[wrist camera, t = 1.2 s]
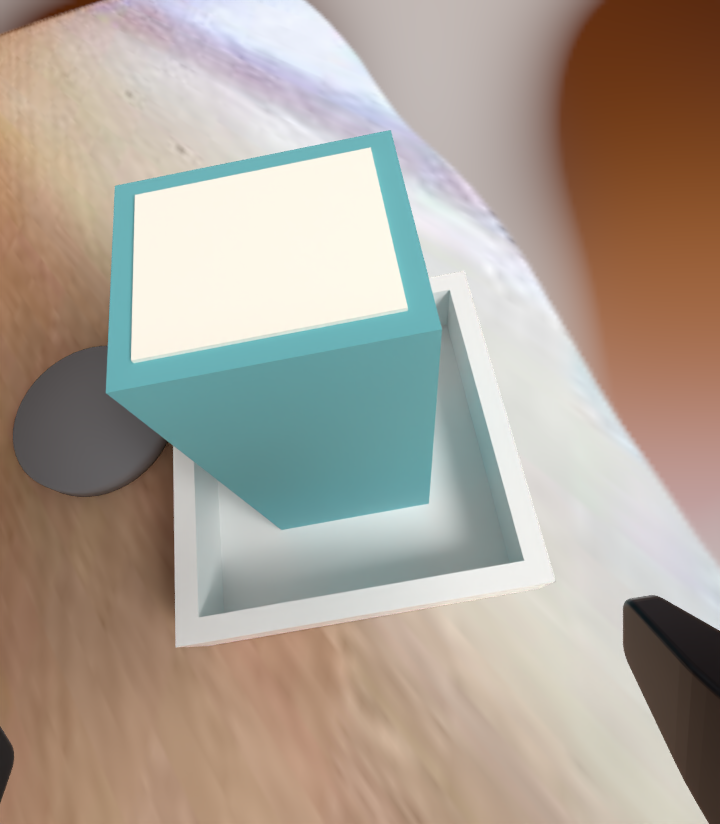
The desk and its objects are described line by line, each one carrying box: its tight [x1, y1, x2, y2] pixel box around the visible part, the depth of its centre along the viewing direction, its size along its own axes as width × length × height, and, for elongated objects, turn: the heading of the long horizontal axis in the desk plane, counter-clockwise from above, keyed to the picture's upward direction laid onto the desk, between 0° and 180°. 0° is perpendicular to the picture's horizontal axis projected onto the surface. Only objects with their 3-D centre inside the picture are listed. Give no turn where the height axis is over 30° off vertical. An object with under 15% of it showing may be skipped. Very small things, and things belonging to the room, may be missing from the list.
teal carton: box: [106, 130, 442, 530], centre depth 16 cm, size 5×6×13 cm
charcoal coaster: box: [13, 346, 167, 497], centre depth 24 cm, size 7×7×1 cm
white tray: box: [173, 271, 556, 647], centre depth 21 cm, size 13×13×3 cm
